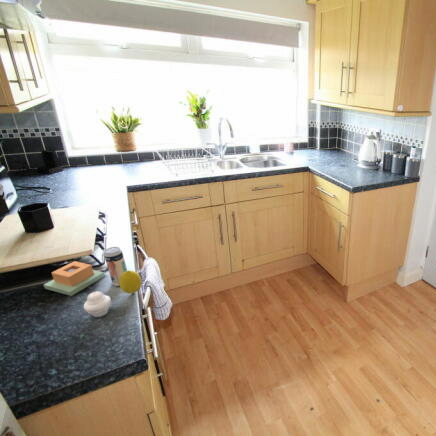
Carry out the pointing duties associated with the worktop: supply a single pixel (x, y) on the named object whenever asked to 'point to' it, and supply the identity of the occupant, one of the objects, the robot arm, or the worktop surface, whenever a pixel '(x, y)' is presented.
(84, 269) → the orange block with hole
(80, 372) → the worktop surface
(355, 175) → the worktop surface
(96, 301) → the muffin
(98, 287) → the worktop surface
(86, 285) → the board
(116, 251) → the beer can
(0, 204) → the robot arm
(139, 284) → the lemon
